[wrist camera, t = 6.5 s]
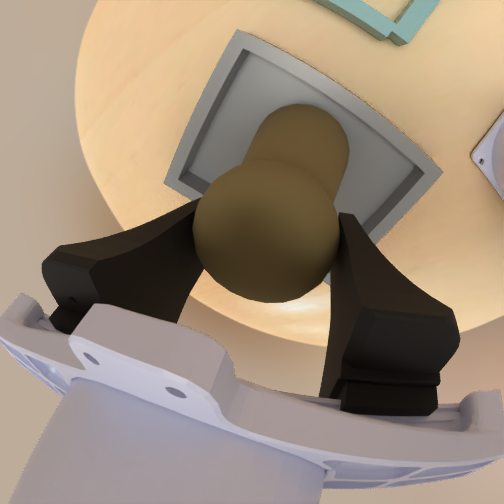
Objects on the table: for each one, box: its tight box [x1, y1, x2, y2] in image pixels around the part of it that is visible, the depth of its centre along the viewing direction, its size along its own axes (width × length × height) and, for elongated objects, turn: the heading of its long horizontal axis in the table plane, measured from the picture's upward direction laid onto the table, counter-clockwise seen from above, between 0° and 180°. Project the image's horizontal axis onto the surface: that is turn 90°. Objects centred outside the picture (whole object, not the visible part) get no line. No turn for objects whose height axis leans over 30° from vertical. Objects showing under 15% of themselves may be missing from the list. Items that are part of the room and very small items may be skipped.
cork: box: [192, 104, 350, 303], centre depth 13 cm, size 6×6×11 cm
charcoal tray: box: [164, 29, 443, 285], centre depth 19 cm, size 16×13×2 cm
